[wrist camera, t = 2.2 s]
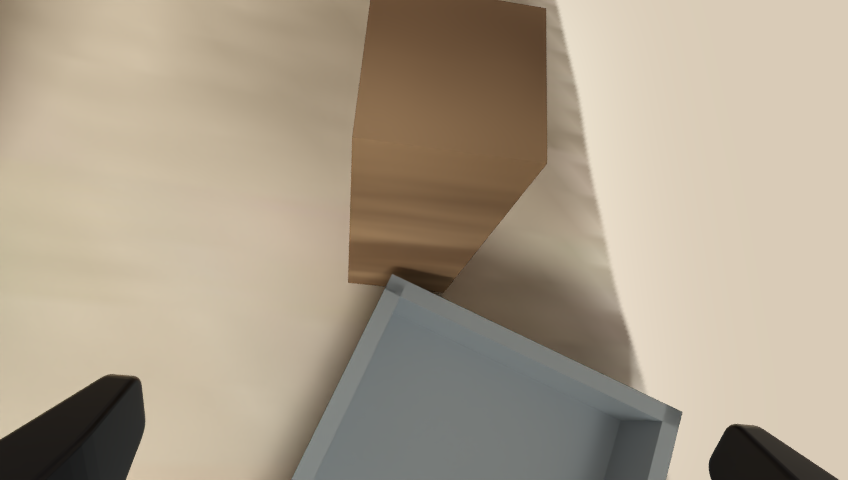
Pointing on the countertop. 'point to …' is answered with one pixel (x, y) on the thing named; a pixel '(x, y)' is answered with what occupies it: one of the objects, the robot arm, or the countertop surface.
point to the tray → (478, 406)
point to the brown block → (443, 133)
